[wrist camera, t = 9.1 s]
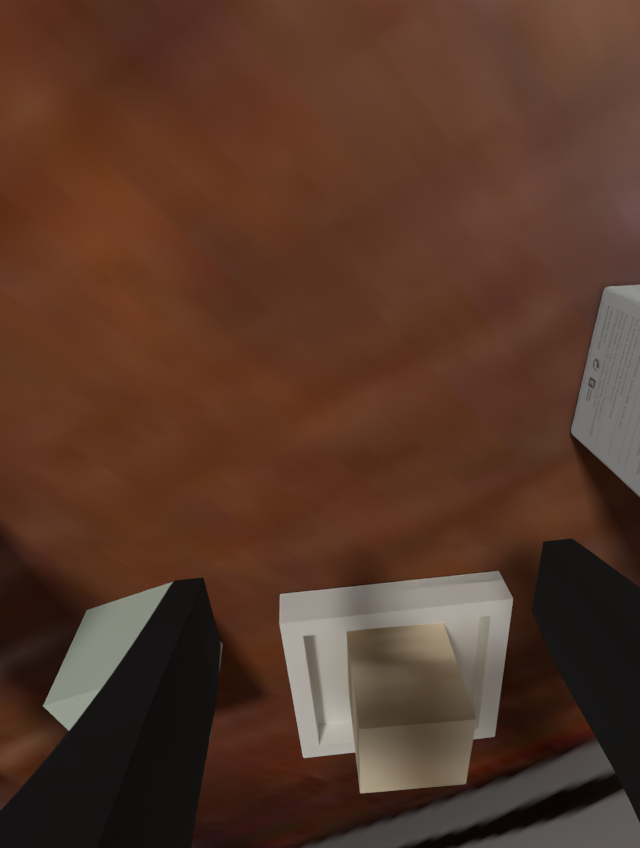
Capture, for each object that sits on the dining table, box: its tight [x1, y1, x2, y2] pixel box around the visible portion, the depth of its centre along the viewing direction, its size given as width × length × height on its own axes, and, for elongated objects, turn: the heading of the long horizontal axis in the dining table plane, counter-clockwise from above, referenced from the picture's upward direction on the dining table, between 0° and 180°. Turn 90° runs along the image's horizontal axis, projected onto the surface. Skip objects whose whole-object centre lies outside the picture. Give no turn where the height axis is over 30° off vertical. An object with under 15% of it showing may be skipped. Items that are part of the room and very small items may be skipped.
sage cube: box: [43, 582, 223, 740], centre depth 23 cm, size 5×5×5 cm
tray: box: [279, 571, 513, 758], centre depth 26 cm, size 11×11×2 cm
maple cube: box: [347, 623, 476, 793], centre depth 24 cm, size 5×5×5 cm
